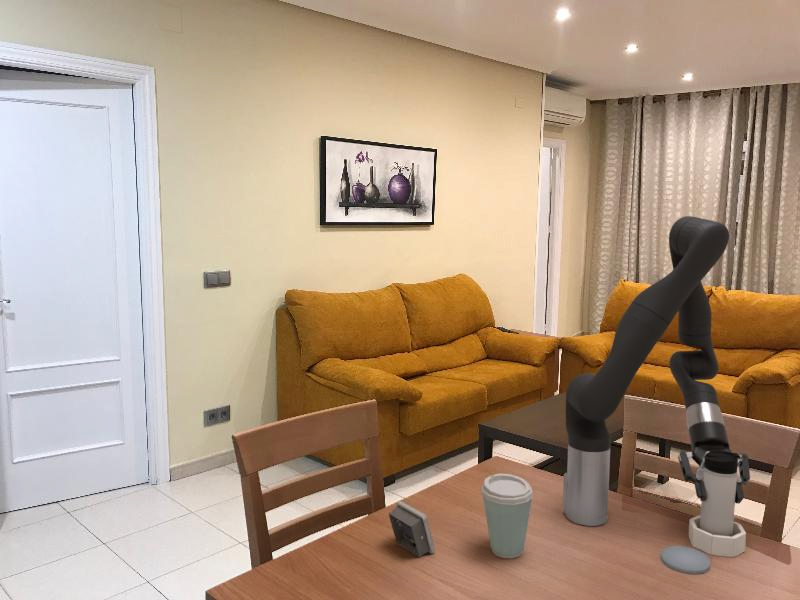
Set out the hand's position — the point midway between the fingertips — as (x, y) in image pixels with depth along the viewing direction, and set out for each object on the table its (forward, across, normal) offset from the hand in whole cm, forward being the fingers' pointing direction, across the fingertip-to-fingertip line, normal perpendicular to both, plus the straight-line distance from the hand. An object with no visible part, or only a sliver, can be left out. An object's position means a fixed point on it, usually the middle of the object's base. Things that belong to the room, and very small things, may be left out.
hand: (721, 500), depth 132 cm
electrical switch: (+15, -63, +1) cm, 65 cm away
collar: (+6, 0, +8) cm, 10 cm away
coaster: (+12, -8, +3) cm, 15 cm away
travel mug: (+6, 0, +9) cm, 11 cm away
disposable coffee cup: (+13, -44, +2) cm, 46 cm away
